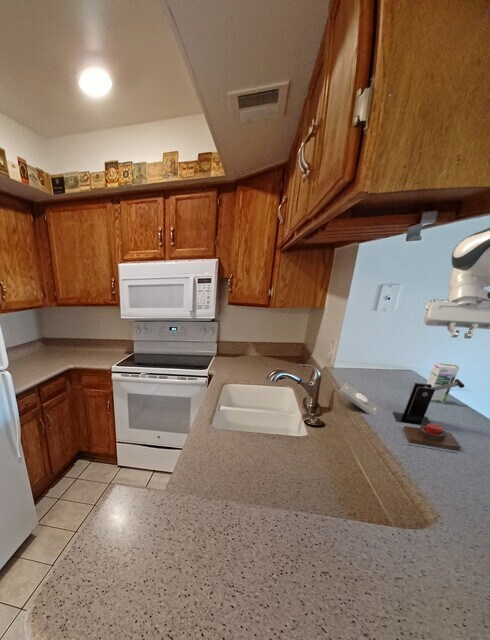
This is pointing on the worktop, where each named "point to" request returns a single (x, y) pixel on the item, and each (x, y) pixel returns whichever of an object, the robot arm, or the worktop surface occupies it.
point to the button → (434, 428)
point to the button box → (431, 438)
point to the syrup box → (442, 380)
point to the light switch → (359, 400)
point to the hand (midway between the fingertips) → (461, 337)
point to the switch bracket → (416, 406)
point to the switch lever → (448, 385)
